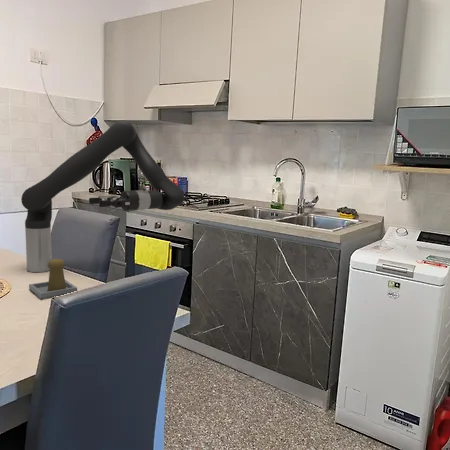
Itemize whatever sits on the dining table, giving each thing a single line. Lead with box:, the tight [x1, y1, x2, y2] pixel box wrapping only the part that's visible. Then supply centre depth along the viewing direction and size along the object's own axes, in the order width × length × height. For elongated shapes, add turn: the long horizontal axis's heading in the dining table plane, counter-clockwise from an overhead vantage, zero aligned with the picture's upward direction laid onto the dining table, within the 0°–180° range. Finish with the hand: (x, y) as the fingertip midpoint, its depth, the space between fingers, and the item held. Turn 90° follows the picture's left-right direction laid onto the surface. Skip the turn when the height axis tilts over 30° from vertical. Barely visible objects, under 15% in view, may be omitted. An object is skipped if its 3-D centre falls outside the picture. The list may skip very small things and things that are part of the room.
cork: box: [47, 258, 66, 292], centre depth 149 cm, size 6×6×11 cm
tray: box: [28, 279, 78, 300], centre depth 150 cm, size 12×12×2 cm
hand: (94, 202), depth 155 cm, fingers open, 8 cm apart
